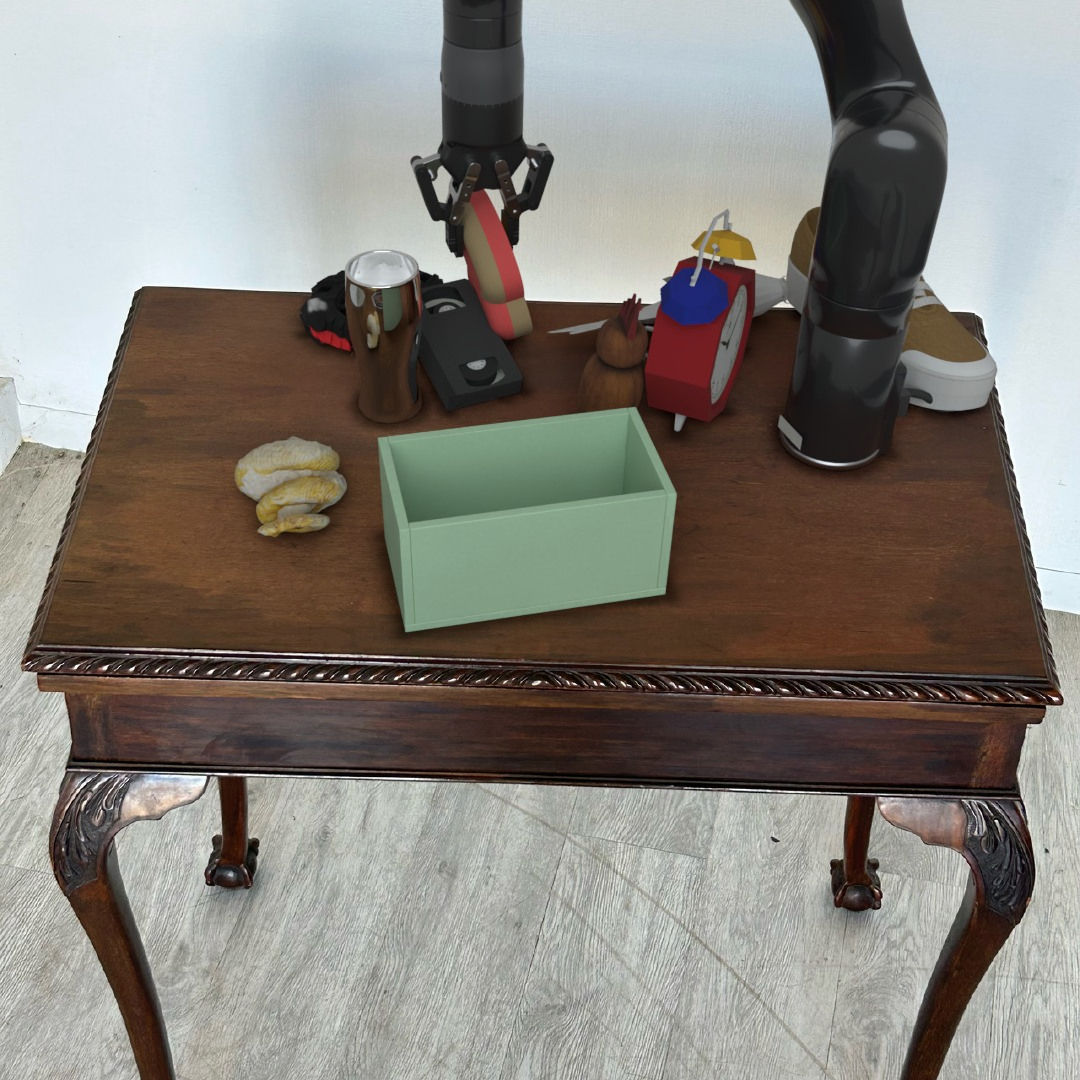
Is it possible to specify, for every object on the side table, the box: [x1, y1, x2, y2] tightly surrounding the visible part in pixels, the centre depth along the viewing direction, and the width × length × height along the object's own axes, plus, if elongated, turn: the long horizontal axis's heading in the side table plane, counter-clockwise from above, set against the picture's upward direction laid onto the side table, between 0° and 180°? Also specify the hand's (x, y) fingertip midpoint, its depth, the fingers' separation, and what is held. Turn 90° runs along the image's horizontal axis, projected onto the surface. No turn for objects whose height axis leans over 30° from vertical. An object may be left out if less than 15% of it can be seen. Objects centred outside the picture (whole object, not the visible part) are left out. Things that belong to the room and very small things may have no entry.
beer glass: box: [344, 248, 423, 424], centre depth 127 cm, size 7×7×15 cm
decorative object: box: [462, 189, 534, 341], centre depth 137 cm, size 14×4×15 cm
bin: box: [377, 407, 678, 633], centre depth 111 cm, size 22×12×11 cm, turn 103°
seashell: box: [233, 435, 348, 538], centre depth 119 cm, size 10×6×15 cm
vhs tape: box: [418, 278, 524, 413], centre depth 135 cm, size 14×8×2 cm, turn 25°
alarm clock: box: [642, 208, 758, 432], centre depth 126 cm, size 15×9×20 cm, turn 157°
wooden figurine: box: [576, 292, 649, 414], centre depth 124 cm, size 7×6×15 cm
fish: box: [547, 257, 791, 335], centre depth 141 cm, size 10×26×10 cm
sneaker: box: [785, 206, 998, 412], centre depth 137 cm, size 10×29×10 cm, turn 27°
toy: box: [299, 269, 444, 352], centre depth 142 cm, size 17×16×3 cm
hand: (482, 249), depth 136 cm, fingers closed on decorative object, 4 cm apart
